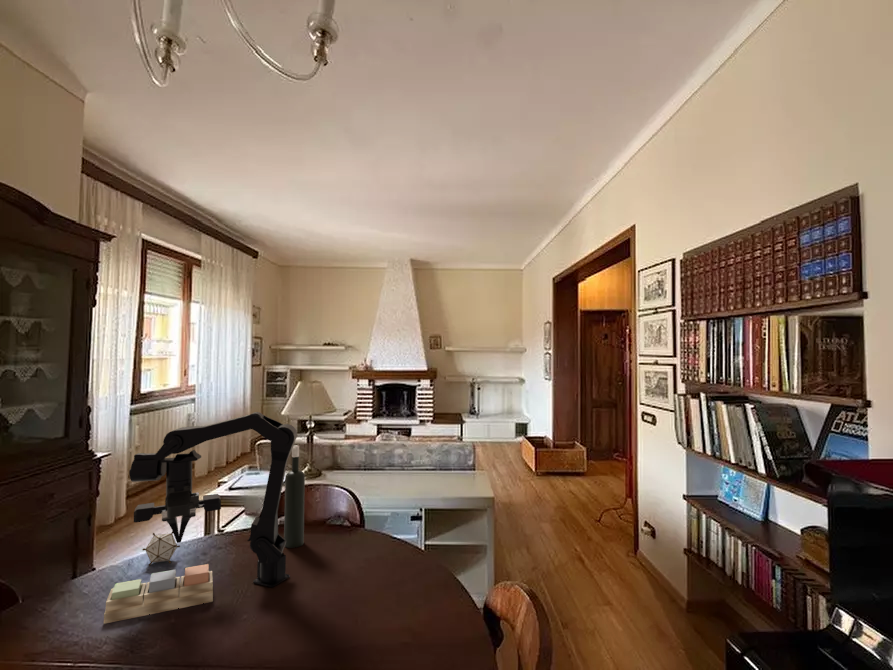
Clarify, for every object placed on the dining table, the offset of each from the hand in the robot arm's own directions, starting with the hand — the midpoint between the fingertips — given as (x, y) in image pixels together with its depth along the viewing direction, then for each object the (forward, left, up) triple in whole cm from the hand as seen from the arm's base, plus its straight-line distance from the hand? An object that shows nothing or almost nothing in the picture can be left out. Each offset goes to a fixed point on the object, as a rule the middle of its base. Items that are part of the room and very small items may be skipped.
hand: (178, 542), depth 119 cm
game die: (+18, -8, -11) cm, 23 cm away
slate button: (-3, +7, -8) cm, 11 cm away
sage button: (+1, +12, -9) cm, 15 cm away
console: (-3, +7, -11) cm, 13 cm away
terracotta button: (-8, +1, -8) cm, 11 cm away
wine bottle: (-7, -33, -11) cm, 36 cm away
